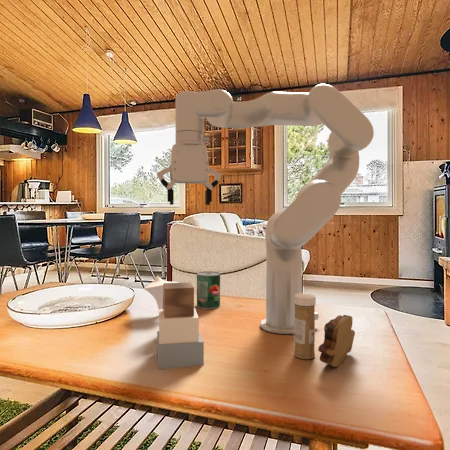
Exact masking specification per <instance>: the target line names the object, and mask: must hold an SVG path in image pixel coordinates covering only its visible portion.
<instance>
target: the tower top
mask: <svg viewBox="0 0 450 450" xmlns="http://www.w3.org/2000/svg"><path fill="white" fill-rule="evenodd" d="M199 320H200V318H199V315H198V313H197V309H196V307H194V316H193V317H175V318H165V317H164V311H163V309H158V331H159V344H171V343H187V342H199V333H200V323H199V322H200V321H199Z"/></svg>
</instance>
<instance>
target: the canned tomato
mask: <svg viewBox="0 0 450 450" xmlns="http://www.w3.org/2000/svg"><path fill="white" fill-rule="evenodd" d="M196 307H197V308H198V309H202V310H214V309H219V308H220V307H221V272H219V271H199V272H197V273H196Z"/></svg>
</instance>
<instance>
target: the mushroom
mask: <svg viewBox="0 0 450 450" xmlns="http://www.w3.org/2000/svg"><path fill="white" fill-rule="evenodd" d="M163 283H180V282H179V281H166V280H164V279H162V278H161V277H159V275H157V276H156V277H155V279H154V280H153V281H151V283H149V284H148V285H146V286H145V287H143V288H142V289H143V290H144V291H146V292H147V293H149V294H150V295H151V296H152V297H153V299H154V300H155V302H156V304H157V308H158V310H159V309H163Z"/></svg>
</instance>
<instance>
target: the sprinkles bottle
mask: <svg viewBox="0 0 450 450" xmlns="http://www.w3.org/2000/svg"><path fill="white" fill-rule="evenodd" d="M316 300H317V299H316V296H315V295H314V294H311V293H303V292H302V293H301V294H296V295H295V296H294V303H295V304H294V305H295V323H294V334H293V335H294V337H293V339H294V352H293V354H294V357H296V358H297V359H301V360H311V359H313V358H315V356H316V353H315V341H316V340H315V339H316V336H315V332H316V331H315V327H316V324H315V321H316V320H314V315H315V313H316V312H315V309H316V308H315V307H316V302H317V301H316Z"/></svg>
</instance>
